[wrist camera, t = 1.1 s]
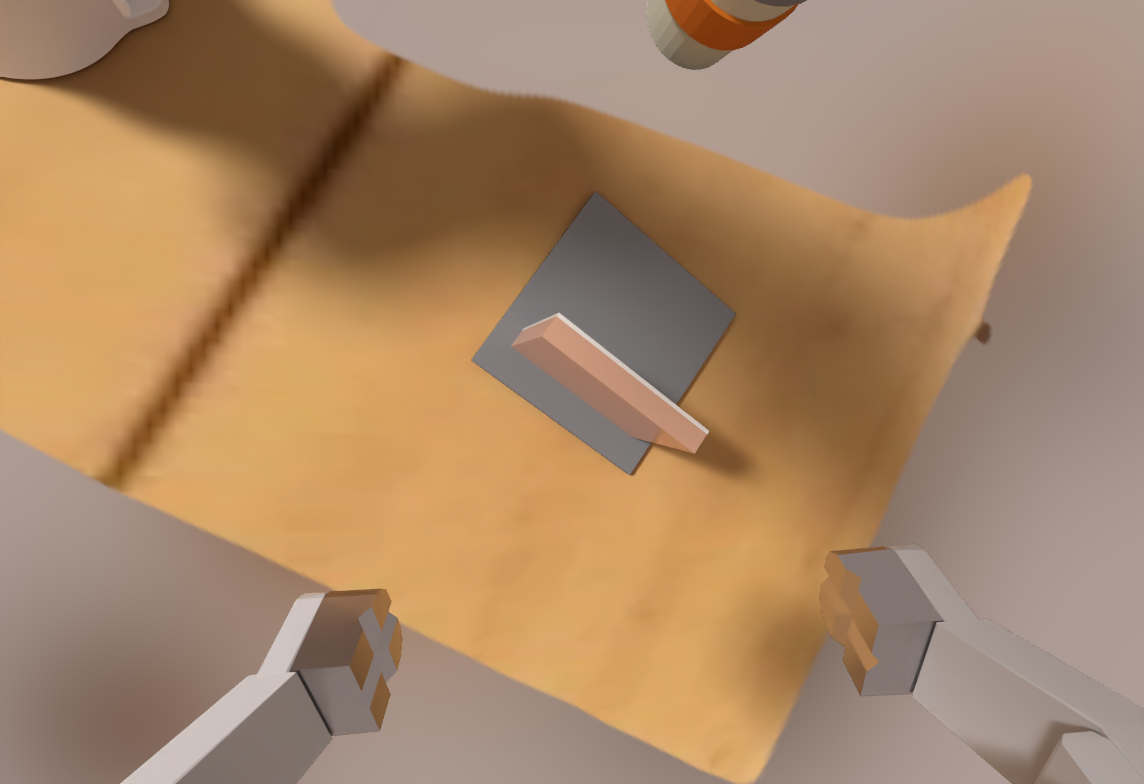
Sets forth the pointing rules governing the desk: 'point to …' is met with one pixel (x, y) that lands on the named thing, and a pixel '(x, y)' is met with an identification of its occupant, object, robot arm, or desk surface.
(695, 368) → the mat
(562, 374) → the tile
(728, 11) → the reusable coffee cup
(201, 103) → the desk surface
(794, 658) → the desk surface
